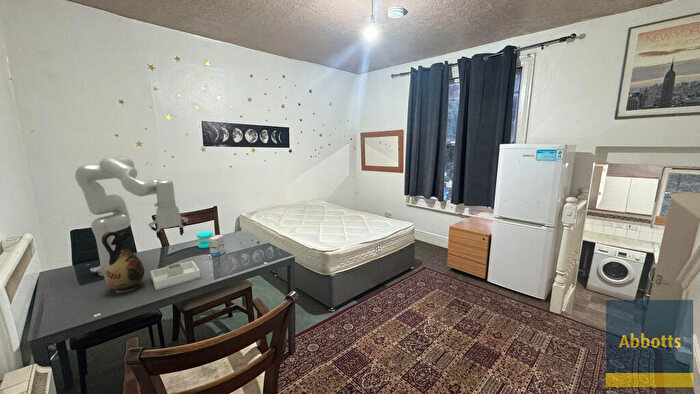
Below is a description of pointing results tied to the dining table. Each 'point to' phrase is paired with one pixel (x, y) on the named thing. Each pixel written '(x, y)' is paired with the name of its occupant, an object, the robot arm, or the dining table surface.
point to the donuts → (204, 236)
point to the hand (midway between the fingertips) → (170, 236)
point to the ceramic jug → (122, 264)
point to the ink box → (216, 245)
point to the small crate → (174, 270)
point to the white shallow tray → (163, 281)
